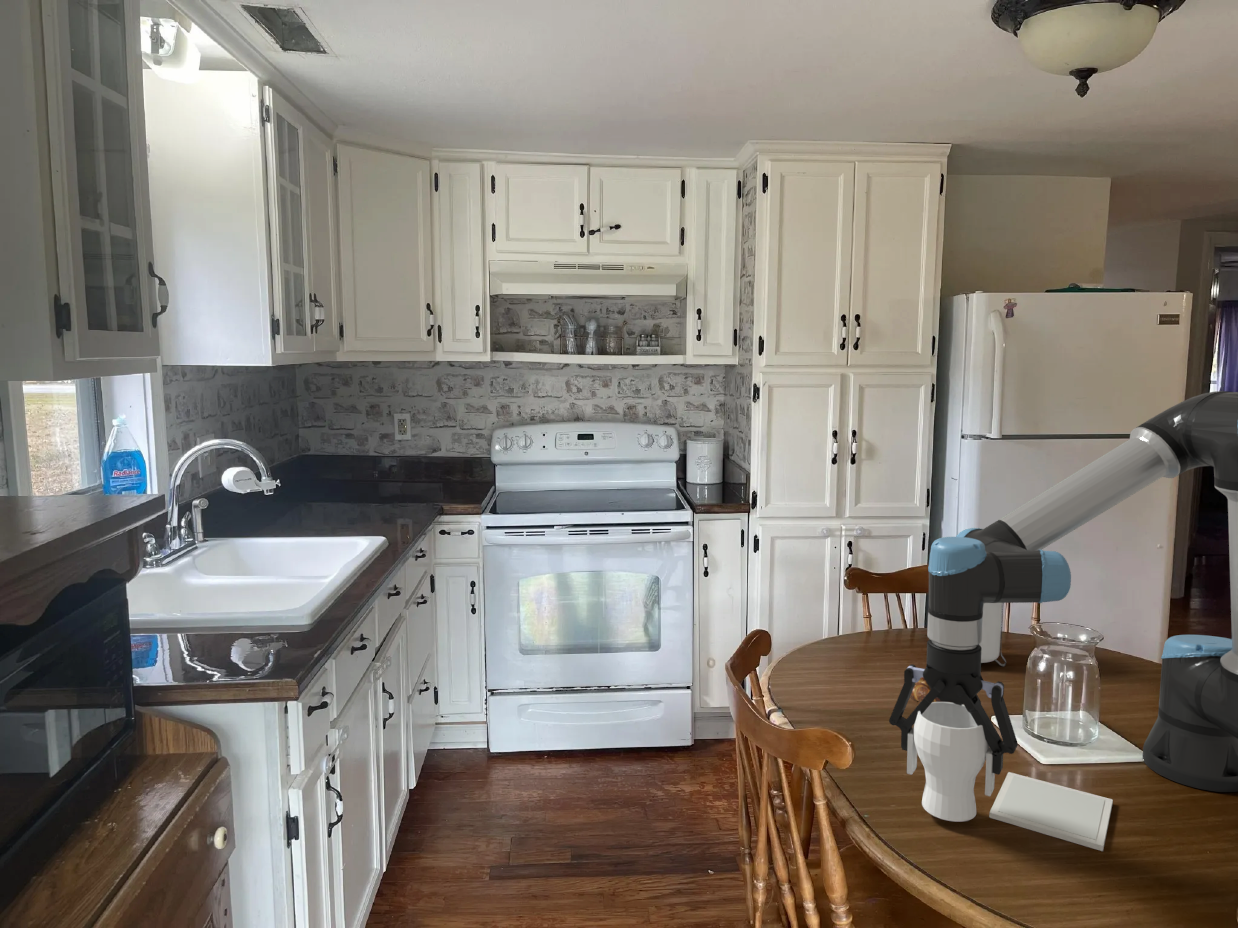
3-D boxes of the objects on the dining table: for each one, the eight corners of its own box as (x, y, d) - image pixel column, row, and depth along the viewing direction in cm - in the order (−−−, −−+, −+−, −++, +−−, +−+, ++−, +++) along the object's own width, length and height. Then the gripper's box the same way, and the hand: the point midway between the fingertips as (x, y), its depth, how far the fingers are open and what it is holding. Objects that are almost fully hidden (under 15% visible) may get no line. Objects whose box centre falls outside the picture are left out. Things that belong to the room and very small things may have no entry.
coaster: (1112, 804, 126) (1112, 798, 126) (1102, 851, 114) (1103, 845, 114) (1008, 776, 135) (1008, 771, 135) (989, 817, 123) (989, 811, 123)
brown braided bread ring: (894, 696, 169) (894, 679, 168) (923, 683, 175) (924, 667, 175) (947, 715, 159) (947, 697, 159) (976, 701, 166) (976, 683, 165)
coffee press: (1010, 655, 190) (1017, 531, 187) (1001, 677, 177) (1008, 544, 173) (933, 642, 199) (938, 523, 196) (919, 662, 186) (924, 535, 182)
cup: (925, 782, 131) (927, 694, 129) (995, 804, 124) (998, 711, 122) (901, 811, 123) (903, 717, 121) (974, 836, 116) (978, 737, 114)
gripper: (1044, 648, 116) (1037, 791, 119) (884, 621, 130) (881, 750, 133) (1036, 664, 110) (1029, 815, 113) (868, 634, 124) (866, 769, 126)
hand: (949, 780), depth 123 cm, fingers closed on cup, 11 cm apart
